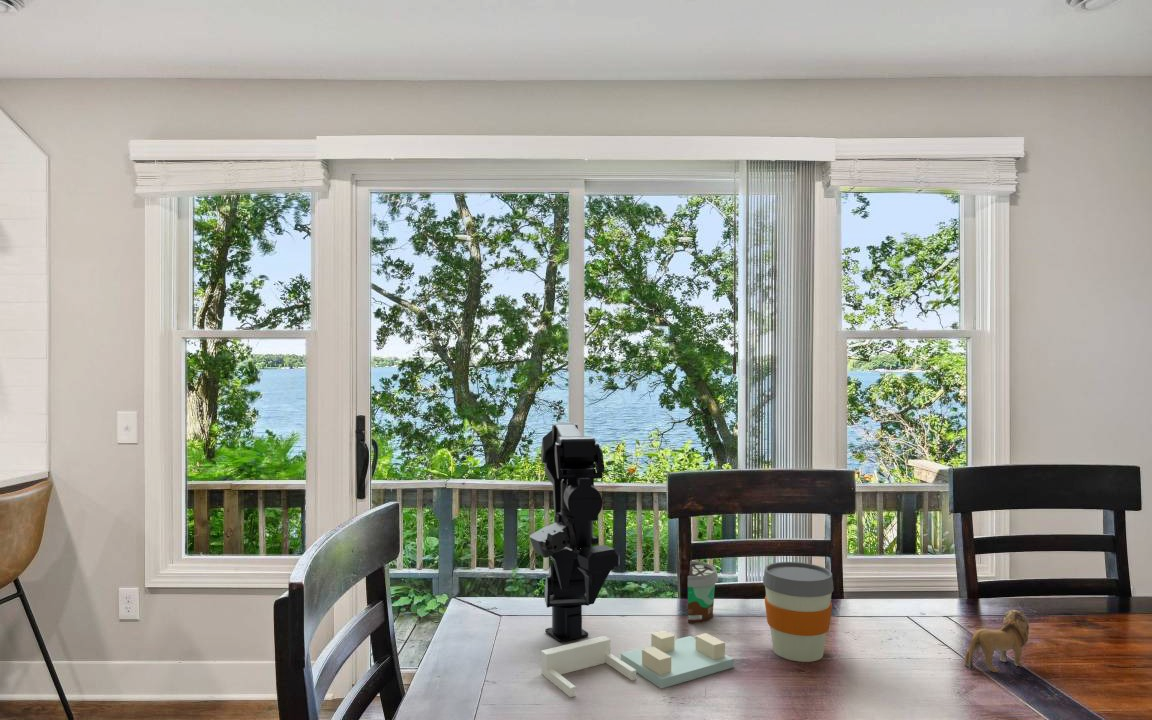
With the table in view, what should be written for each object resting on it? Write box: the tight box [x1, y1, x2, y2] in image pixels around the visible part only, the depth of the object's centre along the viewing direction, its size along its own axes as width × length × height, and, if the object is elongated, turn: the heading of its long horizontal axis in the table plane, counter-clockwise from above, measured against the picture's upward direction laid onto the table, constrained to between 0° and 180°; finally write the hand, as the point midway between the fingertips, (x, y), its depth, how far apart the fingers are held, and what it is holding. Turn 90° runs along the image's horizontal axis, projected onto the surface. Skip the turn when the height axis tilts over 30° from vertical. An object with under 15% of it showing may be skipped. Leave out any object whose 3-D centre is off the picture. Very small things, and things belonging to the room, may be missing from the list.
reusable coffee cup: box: [762, 561, 834, 663], centre depth 132 cm, size 13×12×15 cm
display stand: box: [620, 629, 735, 689], centre depth 126 cm, size 12×16×4 cm
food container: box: [687, 560, 719, 624], centre depth 150 cm, size 12×6×10 cm, turn 168°
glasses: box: [540, 635, 637, 698], centre depth 122 cm, size 10×13×4 cm
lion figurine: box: [964, 609, 1030, 673], centre depth 126 cm, size 15×5×9 cm, turn 116°
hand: (576, 596), depth 125 cm, fingers open, 9 cm apart
